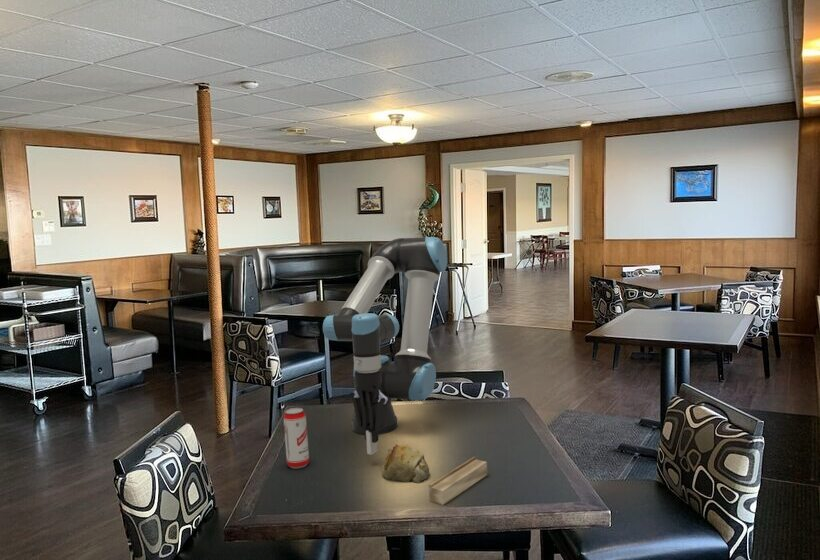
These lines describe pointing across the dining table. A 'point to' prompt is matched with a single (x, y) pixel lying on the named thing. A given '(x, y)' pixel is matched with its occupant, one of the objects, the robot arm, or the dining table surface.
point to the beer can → (296, 438)
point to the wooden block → (457, 481)
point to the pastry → (405, 465)
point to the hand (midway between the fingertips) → (372, 452)
